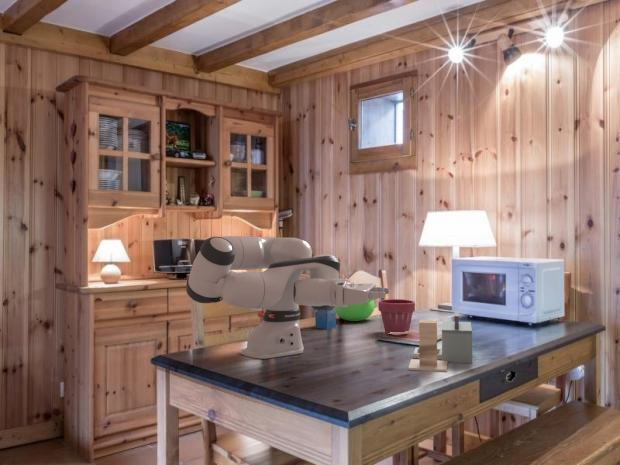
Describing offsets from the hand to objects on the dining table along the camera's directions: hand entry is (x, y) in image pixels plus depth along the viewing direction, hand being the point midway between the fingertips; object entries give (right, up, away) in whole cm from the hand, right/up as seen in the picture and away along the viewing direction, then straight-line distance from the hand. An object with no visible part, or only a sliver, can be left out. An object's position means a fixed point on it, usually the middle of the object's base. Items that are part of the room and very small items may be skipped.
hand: (387, 292), depth 173 cm
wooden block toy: (+19, -22, +10) cm, 31 cm away
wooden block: (+12, -21, -3) cm, 25 cm away
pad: (+12, -22, -3) cm, 25 cm away
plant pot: (+11, -22, +50) cm, 55 cm away
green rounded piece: (-4, -21, +80) cm, 83 cm away
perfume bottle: (-17, -22, +65) cm, 71 cm away
